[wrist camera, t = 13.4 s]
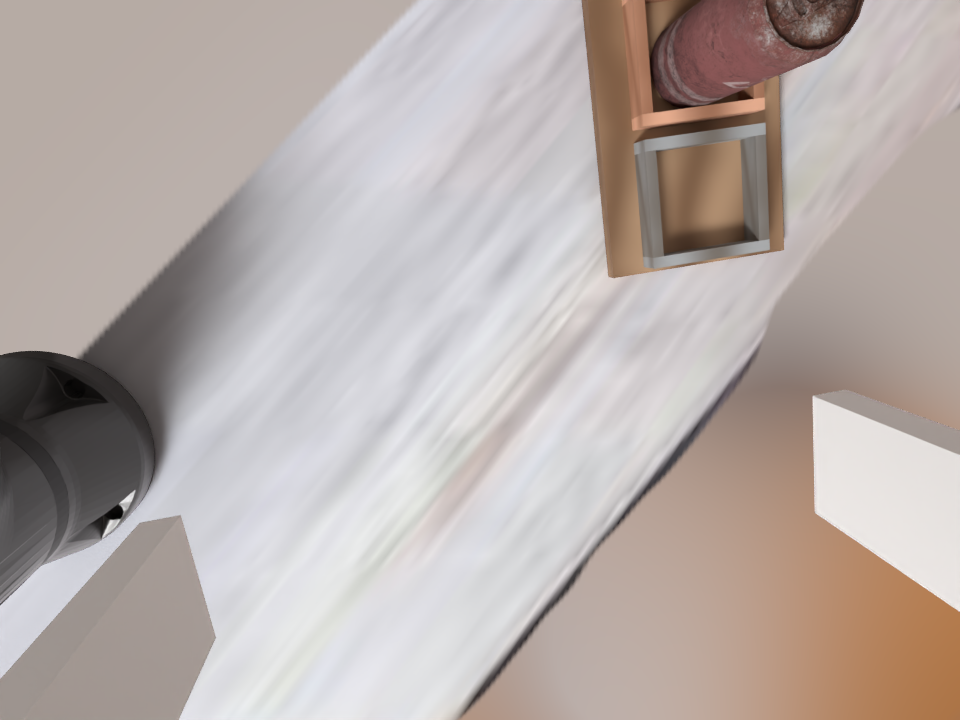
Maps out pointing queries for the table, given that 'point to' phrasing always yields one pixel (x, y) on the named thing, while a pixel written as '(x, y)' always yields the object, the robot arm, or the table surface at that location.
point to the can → (743, 45)
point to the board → (677, 152)
